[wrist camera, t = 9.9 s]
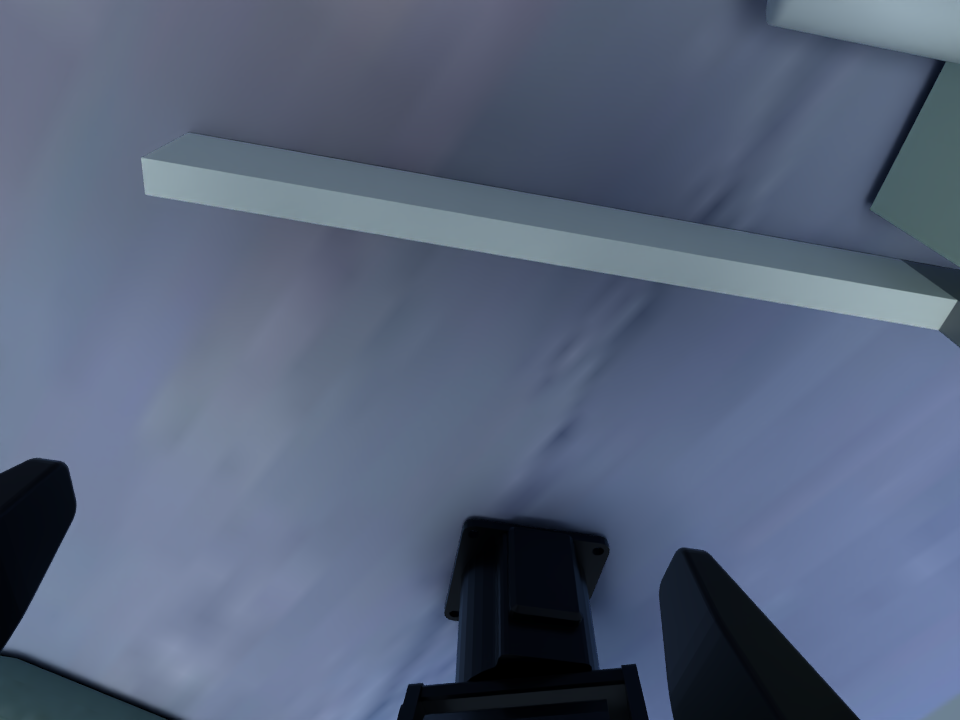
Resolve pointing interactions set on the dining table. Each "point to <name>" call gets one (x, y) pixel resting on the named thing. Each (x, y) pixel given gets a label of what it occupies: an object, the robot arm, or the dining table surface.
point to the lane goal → (551, 231)
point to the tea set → (56, 697)
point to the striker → (941, 122)
